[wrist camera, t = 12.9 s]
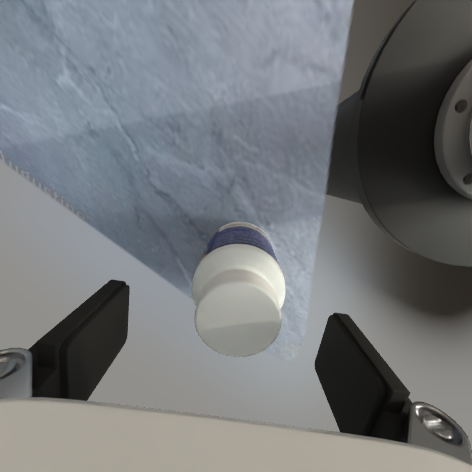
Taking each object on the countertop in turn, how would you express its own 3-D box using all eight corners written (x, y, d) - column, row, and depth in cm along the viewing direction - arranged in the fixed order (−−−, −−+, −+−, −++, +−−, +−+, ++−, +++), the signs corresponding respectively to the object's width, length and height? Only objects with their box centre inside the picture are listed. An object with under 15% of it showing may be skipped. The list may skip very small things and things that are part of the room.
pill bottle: (202, 225, 19) (165, 276, 10) (266, 215, 19) (291, 258, 9) (214, 282, 20) (191, 376, 11) (274, 274, 20) (302, 364, 11)
